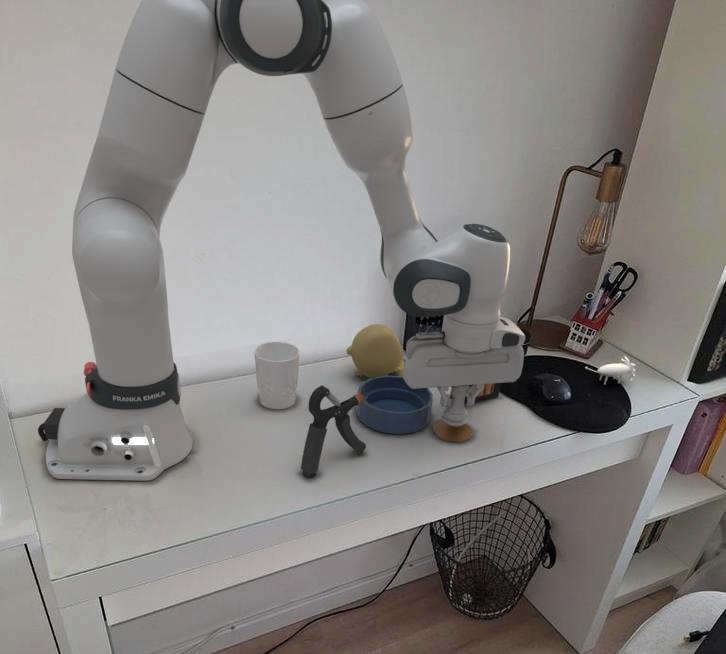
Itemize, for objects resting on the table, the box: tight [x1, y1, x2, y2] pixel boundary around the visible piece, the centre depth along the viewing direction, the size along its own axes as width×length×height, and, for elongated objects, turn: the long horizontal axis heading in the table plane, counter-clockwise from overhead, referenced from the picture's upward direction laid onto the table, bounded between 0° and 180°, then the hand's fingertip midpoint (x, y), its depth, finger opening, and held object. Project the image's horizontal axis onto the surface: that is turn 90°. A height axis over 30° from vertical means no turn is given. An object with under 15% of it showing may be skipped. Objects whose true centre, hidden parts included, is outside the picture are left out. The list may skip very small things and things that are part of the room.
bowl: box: [356, 376, 434, 435], centre depth 124 cm, size 13×13×4 cm
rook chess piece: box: [441, 385, 469, 427], centre depth 118 cm, size 4×4×8 cm
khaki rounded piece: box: [346, 323, 406, 379], centre depth 134 cm, size 10×12×11 cm
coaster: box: [432, 420, 473, 444], centre depth 122 cm, size 7×7×1 cm
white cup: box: [253, 341, 300, 410], centre depth 123 cm, size 8×8×10 cm
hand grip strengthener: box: [300, 384, 367, 479], centre depth 107 cm, size 2×13×15 cm, turn 132°
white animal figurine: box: [584, 355, 638, 386], centre depth 139 cm, size 12×5×5 cm, turn 106°
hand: (456, 404), depth 118 cm, fingers closed on rook chess piece, 3 cm apart
